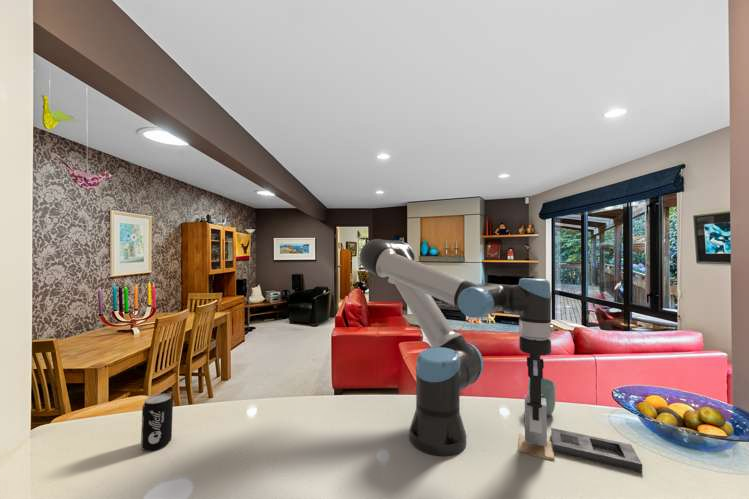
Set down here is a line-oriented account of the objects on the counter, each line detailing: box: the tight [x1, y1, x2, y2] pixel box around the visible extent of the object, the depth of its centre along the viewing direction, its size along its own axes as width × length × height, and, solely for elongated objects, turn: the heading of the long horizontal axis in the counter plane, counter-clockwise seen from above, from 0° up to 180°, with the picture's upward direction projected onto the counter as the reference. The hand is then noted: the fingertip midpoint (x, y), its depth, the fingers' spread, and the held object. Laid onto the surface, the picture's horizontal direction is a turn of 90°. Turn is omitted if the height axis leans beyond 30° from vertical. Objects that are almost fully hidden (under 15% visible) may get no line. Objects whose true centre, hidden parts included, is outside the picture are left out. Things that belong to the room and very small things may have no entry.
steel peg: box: [524, 394, 548, 446], centre depth 84 cm, size 5×5×10 cm
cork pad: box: [518, 434, 555, 462], centre depth 83 cm, size 8×8×1 cm
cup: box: [527, 377, 556, 416], centre depth 103 cm, size 8×8×10 cm
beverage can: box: [140, 393, 174, 452], centre depth 83 cm, size 7×7×12 cm
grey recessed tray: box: [550, 427, 643, 474], centre depth 82 cm, size 18×9×2 cm, turn 64°
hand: (535, 426), depth 84 cm, fingers closed on steel peg, 5 cm apart
